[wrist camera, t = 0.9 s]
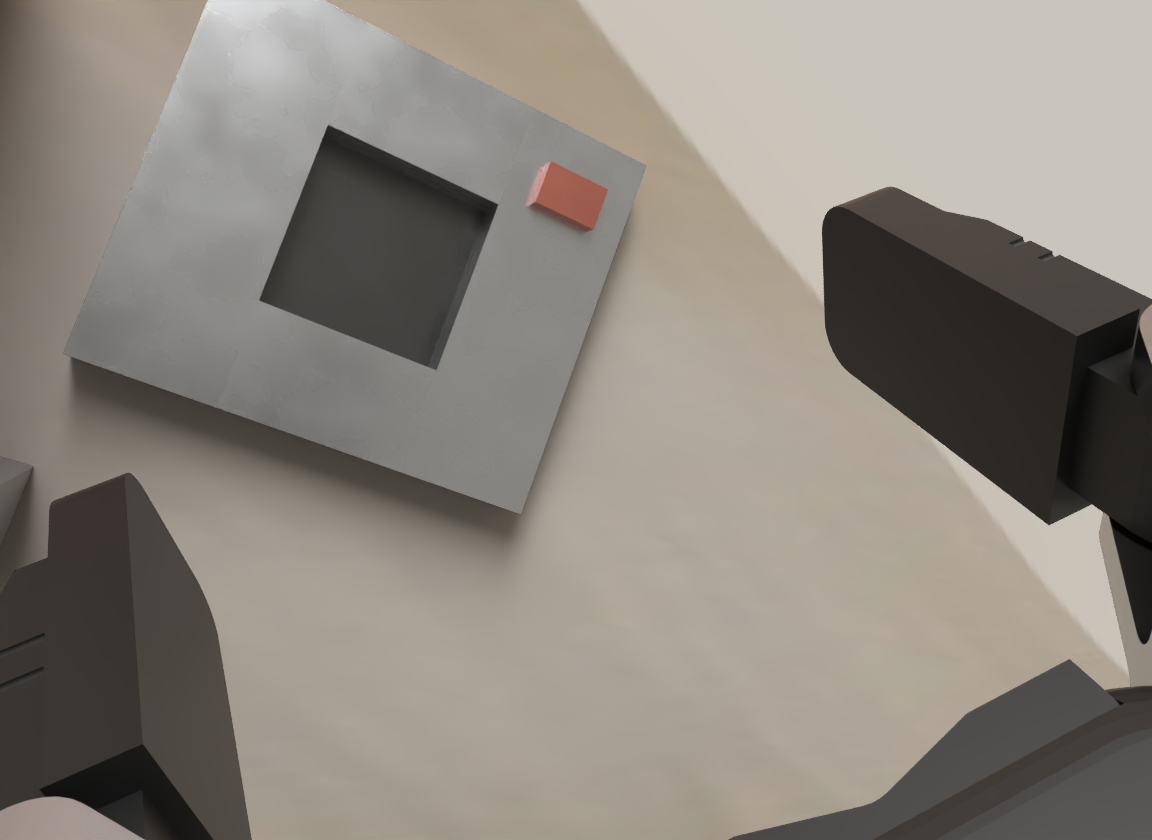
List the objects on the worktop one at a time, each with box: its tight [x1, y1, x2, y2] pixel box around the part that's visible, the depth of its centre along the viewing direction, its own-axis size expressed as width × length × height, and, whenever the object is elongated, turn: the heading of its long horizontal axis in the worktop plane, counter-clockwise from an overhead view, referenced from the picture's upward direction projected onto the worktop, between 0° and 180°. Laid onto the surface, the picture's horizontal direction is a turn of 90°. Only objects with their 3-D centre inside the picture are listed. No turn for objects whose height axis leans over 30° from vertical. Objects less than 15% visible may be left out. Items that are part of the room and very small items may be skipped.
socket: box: [63, 0, 646, 514], centre depth 35 cm, size 16×14×3 cm
